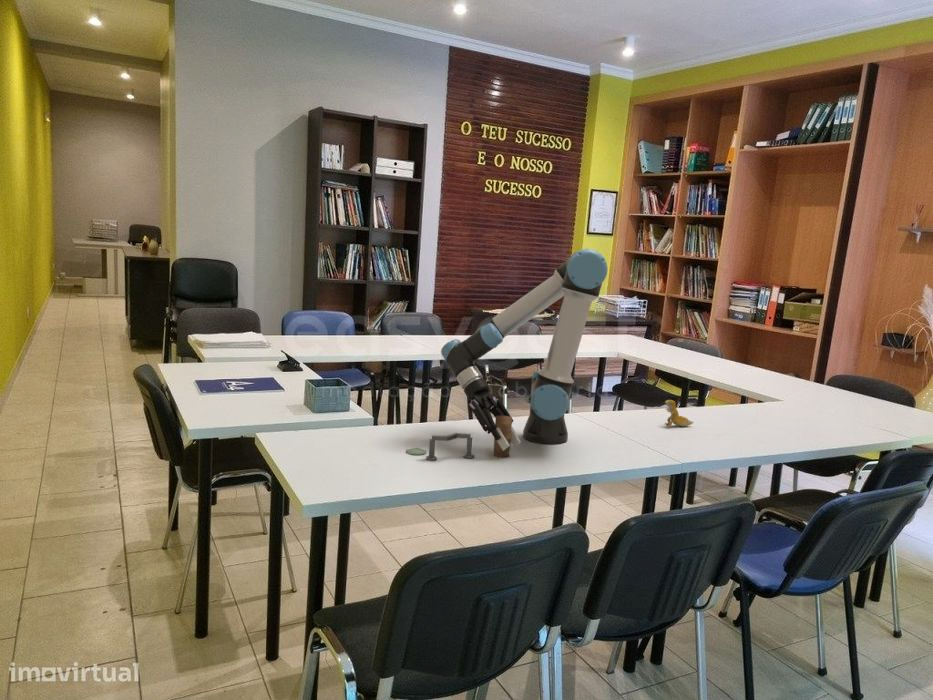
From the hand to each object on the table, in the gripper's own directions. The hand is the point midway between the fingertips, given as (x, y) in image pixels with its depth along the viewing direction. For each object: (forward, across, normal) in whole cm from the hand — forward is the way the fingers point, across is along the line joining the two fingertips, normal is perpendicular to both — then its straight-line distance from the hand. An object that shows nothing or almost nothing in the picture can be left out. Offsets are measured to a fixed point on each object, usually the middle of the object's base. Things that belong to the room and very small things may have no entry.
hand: (511, 446), depth 202 cm
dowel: (0, 0, -5) cm, 5 cm away
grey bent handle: (-6, +14, -11) cm, 19 cm away
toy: (+15, -83, +9) cm, 85 cm away
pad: (-13, +18, -19) cm, 29 cm away
